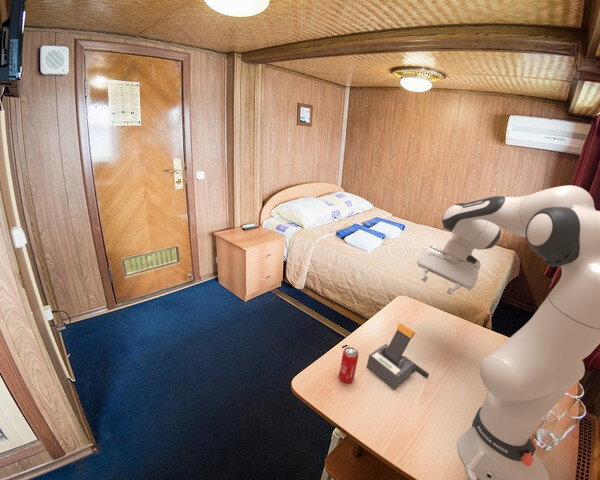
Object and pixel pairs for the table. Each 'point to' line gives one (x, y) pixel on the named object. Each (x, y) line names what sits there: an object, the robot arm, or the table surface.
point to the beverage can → (348, 364)
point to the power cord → (418, 369)
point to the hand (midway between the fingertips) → (435, 287)
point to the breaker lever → (399, 343)
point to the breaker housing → (389, 367)
